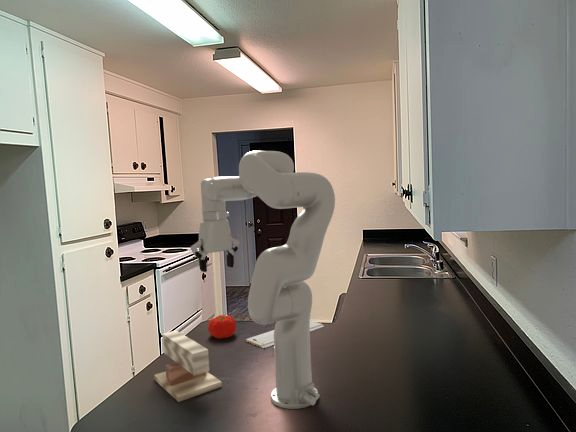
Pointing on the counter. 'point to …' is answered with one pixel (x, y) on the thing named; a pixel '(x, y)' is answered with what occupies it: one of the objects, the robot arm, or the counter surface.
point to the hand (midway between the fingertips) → (217, 269)
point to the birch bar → (186, 352)
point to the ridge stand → (185, 382)
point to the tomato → (222, 326)
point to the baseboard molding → (268, 337)
